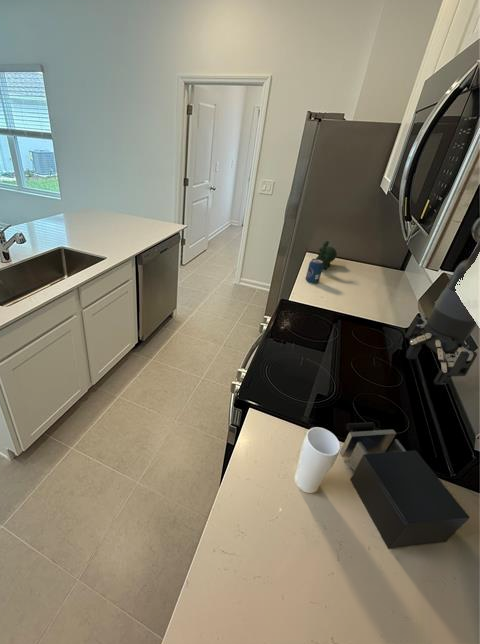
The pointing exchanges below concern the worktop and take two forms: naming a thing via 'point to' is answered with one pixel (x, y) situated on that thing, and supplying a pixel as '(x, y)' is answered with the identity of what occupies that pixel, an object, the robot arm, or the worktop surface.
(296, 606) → the worktop surface
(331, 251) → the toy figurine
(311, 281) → the soda can
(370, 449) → the drawer
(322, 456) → the drinking glass
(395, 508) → the cabinet
